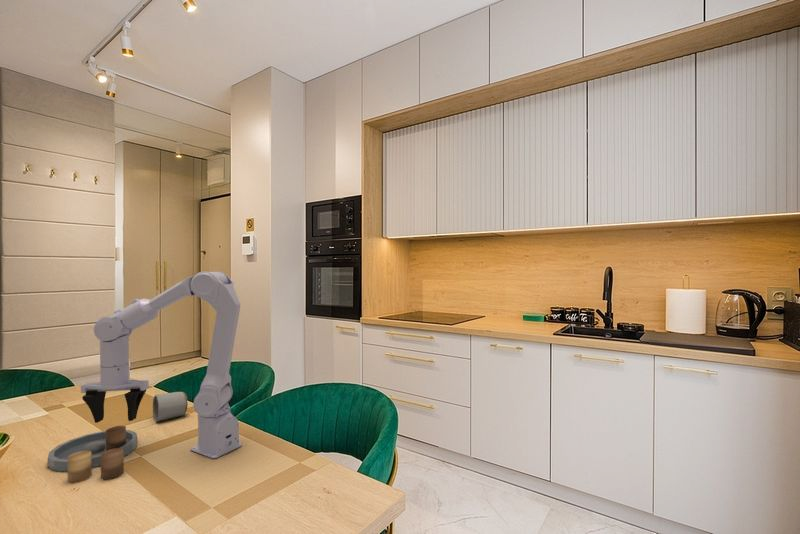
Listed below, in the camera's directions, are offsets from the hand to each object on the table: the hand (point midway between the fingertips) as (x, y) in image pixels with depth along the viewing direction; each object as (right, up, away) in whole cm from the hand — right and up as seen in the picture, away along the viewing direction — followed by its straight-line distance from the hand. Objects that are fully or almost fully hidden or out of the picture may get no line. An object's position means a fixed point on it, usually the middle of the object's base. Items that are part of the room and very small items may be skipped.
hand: (115, 420), depth 96 cm
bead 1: (0, -8, -11) cm, 14 cm away
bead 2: (0, -7, 0) cm, 7 cm away
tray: (-5, -8, 0) cm, 9 cm away
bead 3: (+7, -8, -10) cm, 15 cm away
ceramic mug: (-1, -8, +23) cm, 25 cm away
